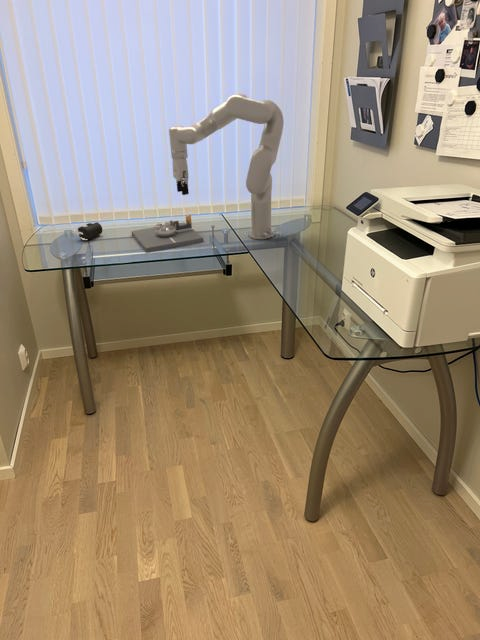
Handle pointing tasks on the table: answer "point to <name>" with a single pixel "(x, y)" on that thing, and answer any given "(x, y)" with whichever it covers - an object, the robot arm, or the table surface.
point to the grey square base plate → (165, 239)
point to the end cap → (90, 230)
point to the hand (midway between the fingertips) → (182, 192)
